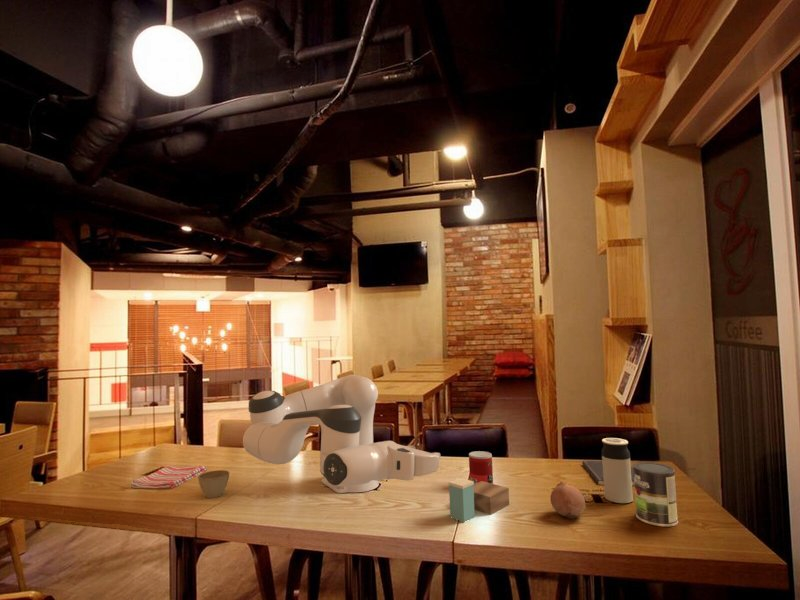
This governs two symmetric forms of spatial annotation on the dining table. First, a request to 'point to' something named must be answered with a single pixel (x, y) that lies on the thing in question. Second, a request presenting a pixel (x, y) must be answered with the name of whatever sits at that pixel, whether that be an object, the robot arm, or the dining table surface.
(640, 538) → the dining table surface
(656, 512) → the coffee can
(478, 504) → the riser block
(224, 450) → the dining table surface
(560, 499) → the onion
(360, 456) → the robot arm
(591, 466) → the hardcover book
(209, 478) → the flower pot
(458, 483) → the tea tin
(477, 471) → the canned food
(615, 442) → the travel mug
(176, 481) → the dish towel
